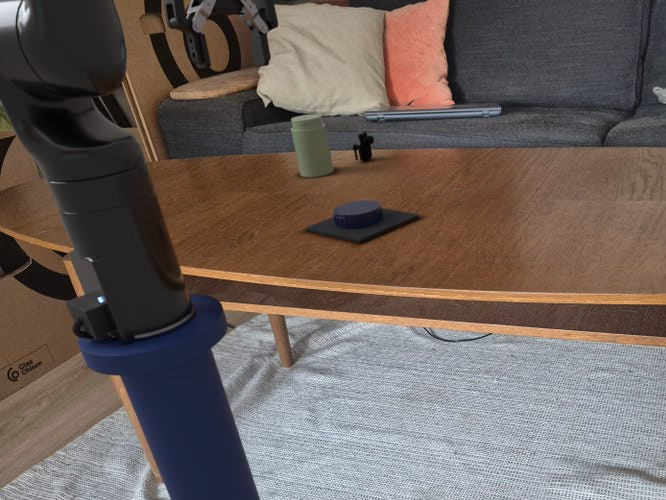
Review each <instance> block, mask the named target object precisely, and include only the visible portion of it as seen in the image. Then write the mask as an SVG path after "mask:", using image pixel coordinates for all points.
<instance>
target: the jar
mask: <svg viewBox="0 0 666 500" xmlns="http://www.w3.org/2000/svg"><path fill="white" fill-rule="evenodd" d="M290 122H291V126H292V127H291V128H290V133H291V138H292V144H293V147H294V151H295V156H296V161H297V166H298V169H299V174H300V175H299V176H301V177H303V178H318V177H323V176H327V175H329V174H330V175H331V174H333V173H334V171H335V167H334V163H333V157H332V152H331V147H330V142H329V136H328V131H327V126H326V124H325V123H324V122H323V116H322V115H321V114H319V113H315V114H312V113H311V114H303V115H298V116H294V117H292V118H290Z"/></svg>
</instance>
